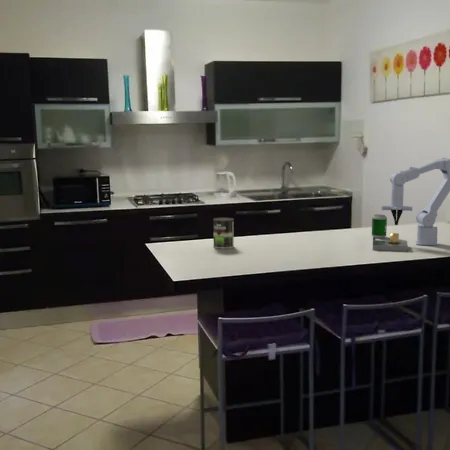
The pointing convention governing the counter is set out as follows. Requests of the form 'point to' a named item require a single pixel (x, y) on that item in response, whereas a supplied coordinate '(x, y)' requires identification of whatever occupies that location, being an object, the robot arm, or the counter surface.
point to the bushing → (394, 238)
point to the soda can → (379, 226)
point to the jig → (389, 245)
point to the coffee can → (223, 232)
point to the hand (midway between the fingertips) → (396, 224)
